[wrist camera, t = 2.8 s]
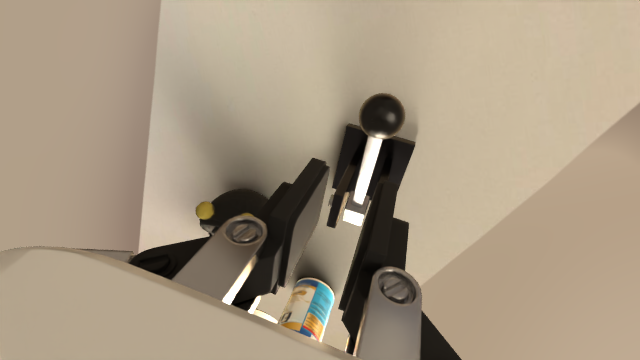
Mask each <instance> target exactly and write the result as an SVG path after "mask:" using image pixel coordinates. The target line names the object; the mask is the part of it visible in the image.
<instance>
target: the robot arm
mask: <svg viewBox="0 0 640 360" xmlns="http://www.w3.org/2000/svg"><path fill="white" fill-rule="evenodd" d="M329 171H330V167H329V166H326V162H325V161H322V160H319V159H315V158H312V159H311V161H310V162H309V163H308V165H307V166H306V167H305V169H304V170H303V171H302V173H301V174H300V175H299V177H298V178H297V179H296V180H295V182H294V183H293V184H290V183H287V182H283V183H282V184H281V185H280V186H279V188H278V189H277V190H276V191H275V192H274V194H273V195H272V196H271V197H270V199H269V200H268V201H267V202H266V203H265V205H264V206H263V207H262V208H261V209H260V211H259V212H258V213H257V214H256V216H255V217H252V216H237V217H233V218H231V219H229V220H228V221H226V222H225V223H224V224H223V225H222V226H221V227H220V228H219V229H218V230H217V231H216V232H215V234H214V235H213V236H209V237H204V238H200V239H195V240H190V241H185V242H180V243H175V244H170V245H165V246H161V247H156V248H152V249H148V250H145V251H143V252H141V253H140V254H138V255H134V253H133V251H115V250H95V249H74V248H65V247H45V246H34V247H21V248H14V249H10V250H5V251H2V252H0V360H461V358H460V357H459V356H458V355H457V353H456V352H455V351H454V350H453V348H452V347H451V346H450V345H449V343H448V342H447V341H446V340H445V339H444V337H443V336H442V335H441V334H440V332H439V331H438V330H437V329H436V327H435V326H434V325H433V324H432V323H431V321H430V320H429V319H428V317H427V316H426V315H425V314H424V313H423V311H422V310H421V308H422V293H421V288H420V286H419V284H418V282H417V281H416V280H415V279H414V278H413V277H412V276H411V275H410V274H408V273H407V272H406V271H405V264H406V252H407V241H408V229H409V223H408V222H405V221H402V220H399V219H396V218H393V214H394V208H395V202H396V196H397V190H398V184H396V183H393V182H390V181H386V180H384V182H383V183H380V182H378V183H377V186H376V189H375V192H374V195H373V198H372V201H371V204H370V207H369V210H368V213H367V216H366V219H365V222H364V225H363V228H362V231H361V234H360V237H359V240H358V243H357V247H356V250H355V254H354V257H353V260H352V264H351V267H350V270H349V274H348V277H347V281H346V284H345V287H344V291H343V294H342V297H341V301H340V304H339V308H338V309H340V310H343V311H344V313H343V316H342V320H341V321H343V323H344V325H345V327H346V328H347V330H348V332H349V336H348V339H347V343H346V347H345V352H343V351H341V350H339V349H336V348H334V347H332V346H329V345H327V344H324V343H322V342H320V341H317V340H315V339H312V338H310V337H308V336H305V335H303V334H300V333H298V332H296V331H293V330H291V329H288V328H286V327H284V326H281V325H279V324H276V323H274V322H271V321H269V320H267V319H264V318H262V317H259V316H257V315H255V314H252V313H253V312H254V310H255V308H256V306H257V304H258V303H259V301H260V298H261V295H265V294H268V293H273V294H275V295H276V293H277V291H278V289H279V287H280V286H281V287H284V288H285V286H286V285H287V283H288V281H289V279H290V277H291V275H292V273H293V271H294V269H295V267H296V265H297V263H298V261H299V259H300V257H301V255H302V253H303V251H304V249H305V247H306V245H307V243H308V241H309V239H310V237H311V235H312V234H313V232H314V230H315V228H316V226H317V223H318V220H319V216H320V212H321V207H322V203H323V198H324V194H325V189H326V185H327V180H328V176H329Z"/></svg>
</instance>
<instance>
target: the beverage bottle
mask: <svg viewBox="0 0 640 360" xmlns="http://www.w3.org/2000/svg"><path fill="white" fill-rule="evenodd" d="M333 303H334V294H333V291H332V290H331V288H330V287H329V286H328V285H327V284H325V283H324V282H322V281H320V280H318V279H315V278H303V279H300V280H299V281H298V282H297V283H296V284H295V286H294V289H293V292H292V294H291V296H290V298H289V301H288V303H287V305H286V307H285V309H284V311H283V313H282V315H281V317H280V319H279V321H278V323H277V324H279V325H281V326H284V327H286V328H288V329H291V330H293V331H296V332H298V333H300V334H303V335H305V336H308V337H310V338H312V339H315V340H317V341H320V342H321V340H322V337H323V334H324V330H325V327H326V324H327V321H328V318H329V314H330V311H331V308H332V306H333Z"/></svg>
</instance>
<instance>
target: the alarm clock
mask: <svg viewBox="0 0 640 360" xmlns="http://www.w3.org/2000/svg"><path fill="white" fill-rule="evenodd" d="M267 201H268V199H267V198H266V197H264V196H263V195H261V194H259V193H257V192H255V191H251V190H241V189H239V190H233V191H229V192H226V193H224V194H222V195H220V196H219V197H217V198H216V199H215V200H214V201H212V202H211V203H210V202H201V203H200V204H199V205H198V206H197V208H196V215H197V216H198V217H199V218H200V219H199V220H200V226H201V227H202V228H203V229H204V230H205V231H207V232H209V235H210V236H213V235H214V234H215V232H216V231H217V230H218V229H219V228H220V227H221V226H222V225H223V224H224V223H225V222H226V221H228V220H229V219H231V218H233V217H237V216H252V217H255V216H256V214H257V213H258V212H259V211H260V209H261V208H262V207H263V206H264V205H265V203H266V202H267Z"/></svg>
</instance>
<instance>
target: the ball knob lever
mask: <svg viewBox="0 0 640 360" xmlns="http://www.w3.org/2000/svg"><path fill="white" fill-rule="evenodd" d="M404 121H405V110H404V107H403V105H402V103H401V102H400V101H399V100H398V99H397V98H396V97H395V96H393V95H390V94H387V93H379V94H375V95H373V96H371V97H369V98H368V99H367V100H366V101H365V102H364V103H363V105H362V107H361V109H360V112H359V123H360V126H361V128H362V130H363V131H364V132H365V133H366V134H367V135H368V139H367V143H366V147H365V151H364V156H363V160H362V164H361V168H360V172H359V176H358V180H357V184H356V188H355V192H354V191H351V192H350V195H349V197H348V200H347V203H346V206H345V209H344V213H343V218H342V220H344V221H347V222H350V223H353V224H356V225H359V226H361V224H362V222H363V219H364V216H365V213H366V210H367V206H368V203H369V200H370V197H369V196H366V192H367V189H368V186H369V182H370V179H371V176H372V173H373V169H374V166H375V163H376V160H377V157H378V153H379V150H380V147H381V144H382V141H383V139H388V138H391V137H393V136H394V135H396V134H397V133H398V132H399V131H400V130H401V128H402V126H403V124H404Z"/></svg>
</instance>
